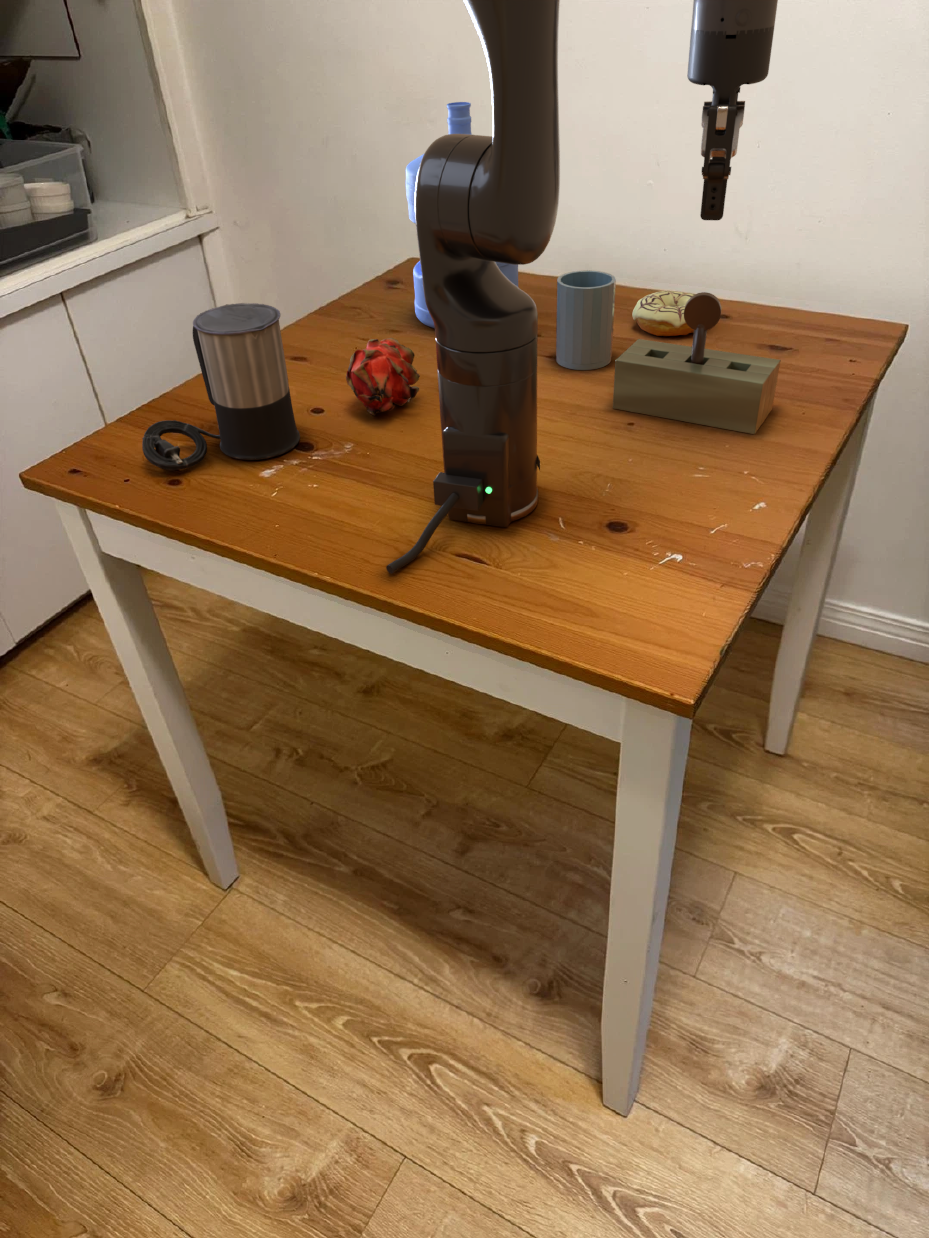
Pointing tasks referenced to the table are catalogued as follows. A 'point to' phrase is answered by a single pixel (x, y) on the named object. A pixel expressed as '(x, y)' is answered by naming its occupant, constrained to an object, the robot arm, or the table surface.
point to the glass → (585, 319)
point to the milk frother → (236, 389)
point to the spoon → (701, 321)
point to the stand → (695, 385)
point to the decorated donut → (663, 313)
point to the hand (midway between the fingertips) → (713, 208)
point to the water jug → (457, 125)
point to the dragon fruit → (382, 375)
